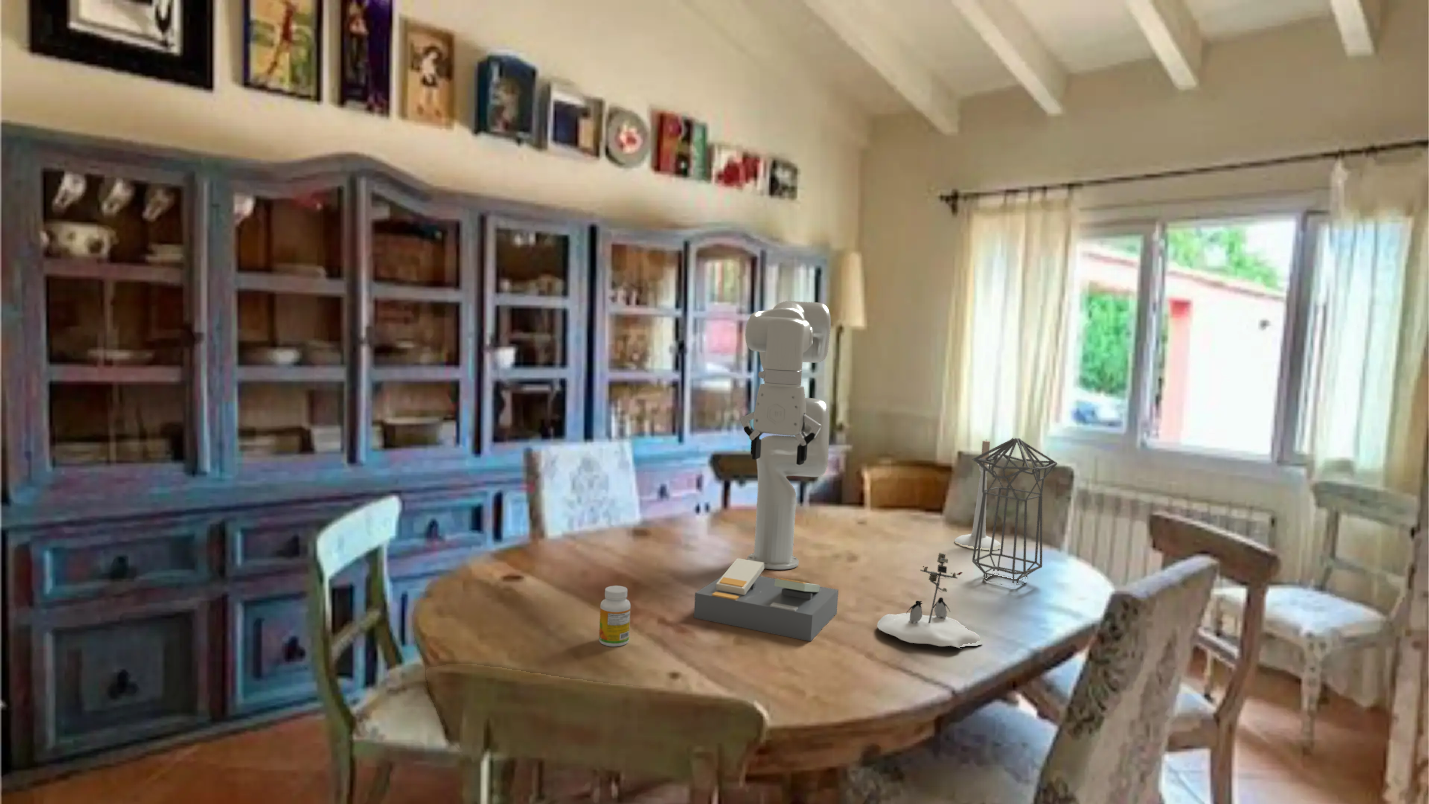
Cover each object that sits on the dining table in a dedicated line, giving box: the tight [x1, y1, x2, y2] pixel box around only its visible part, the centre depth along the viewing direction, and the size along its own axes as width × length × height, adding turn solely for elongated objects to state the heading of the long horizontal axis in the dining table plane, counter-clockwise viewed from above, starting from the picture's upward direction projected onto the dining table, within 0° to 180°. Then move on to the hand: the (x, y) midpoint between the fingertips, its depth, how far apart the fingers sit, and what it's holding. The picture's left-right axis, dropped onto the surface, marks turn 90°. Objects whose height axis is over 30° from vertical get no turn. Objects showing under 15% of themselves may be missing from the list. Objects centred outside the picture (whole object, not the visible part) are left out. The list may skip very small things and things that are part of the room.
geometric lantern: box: [971, 437, 1058, 584], centre depth 201 cm, size 16×16×35 cm
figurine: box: [876, 552, 981, 649], centre depth 164 cm, size 20×18×16 cm
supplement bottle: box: [598, 585, 632, 648], centre depth 152 cm, size 5×5×10 cm
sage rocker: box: [774, 577, 821, 592], centre depth 168 cm, size 11×6×2 cm, turn 157°
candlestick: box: [954, 439, 1001, 548], centre depth 238 cm, size 13×13×30 cm
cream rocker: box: [716, 557, 765, 595], centre depth 172 cm, size 11×6×2 cm, turn 156°
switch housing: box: [693, 575, 839, 642], centre depth 170 cm, size 18×24×6 cm
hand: (778, 461), depth 175 cm, fingers open, 9 cm apart
